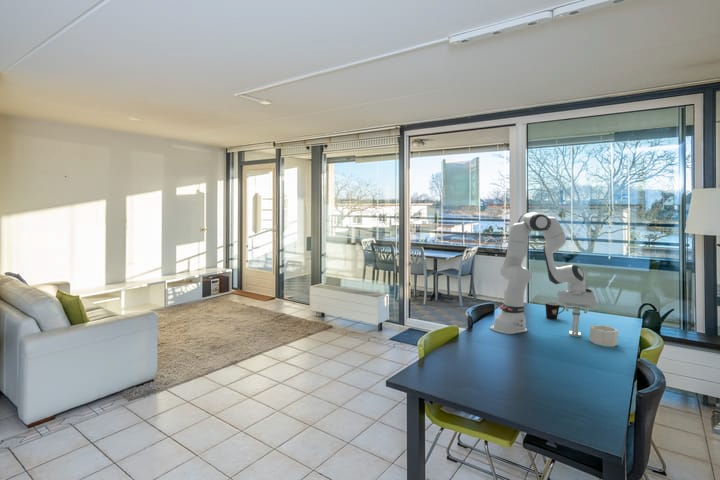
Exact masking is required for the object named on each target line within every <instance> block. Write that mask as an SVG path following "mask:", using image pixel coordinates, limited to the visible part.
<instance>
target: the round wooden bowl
mask: <svg viewBox="0 0 720 480" xmlns="http://www.w3.org/2000/svg"><path fill="white" fill-rule="evenodd" d="M618 337H619V330H618V329H617V328H616V327H612V326H608V325H605V324H604V325H602V324H593V325H591V326H590V329H589V342H591V343H592V344H595V345H598V346H601V347H616V346H617V345H618V339H619V338H618Z"/></svg>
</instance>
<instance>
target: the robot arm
mask: <svg viewBox="0 0 720 480" xmlns="http://www.w3.org/2000/svg"><path fill="white" fill-rule="evenodd" d="M531 232H541V233H542V235H543V237H544V241H545V244H544V245H543V250H542V251H543V256H544V260H545V265H546V269H547V276H548V279H549V282H551V283H552V284H553V285H560V284H563V283H567V282H569V286H568V290H559V291H557V303H558V304H560V306H561V305H562V306H564V308H565V309H564V310H565V312H569V310H570V309H569V307H568V306H571V307H577V308H584V309H583V314H588V311H589V309H596V307H597V297H596V295H595V291H594V290H593V289H590V288H587V287H586V282H587V281H586V274H585V273H586V272H585V271H584V269H582V268H581V267H580V266H579V265H577V264H569V265H564V266H559V267H557V266H556V264H555V259H554V253H555V252H557V251H558V250H560V249H561V248H562V247H564V245H565V243H566V241H567V236H566V233H565V231H564V229H563V228H562V226H561V223H560V222H559V220H558V219H557V218H556V217H554V216H547V215H546V214H544V213H541V212H534V211H531V212H525V213H523V214H521V216H519V219H518V221H517V222H516V223H513V224H511V226H510V229H509V234H508V237H507V238H508V239H507V247H506V248H507V249H506V250H507V251H506V254H505V259H504V261H503V264H502V265H501V267H500V269H499V273H500V275H501V276H502V277H503V279H505V280H507V281H508V284H507V287H506V288H505V290H504V293H503V295H504V297H503V304H502V305H499V308H498V309H500V310H501V311H500V312H499V313H498V315H497V316H496V317H495V318H494V321H493V322H494V323H493V325H491V326H489V330H492V331H494V332H498V333H501V334H506V335H513V334H519V333H520V334H521V333H525V332H528V329H527V328H526V325H527V324H526V316H525V314H524V312H525V305H524V301H525V300H524V299H525V292H526V288H527V285H528V284H529V283H530V281H531V279H532V273H531V271H530V269H528V268H527V267H525V266H523V265H522V264H523V261H524V259H525V258H526V257H527V255H528V245H529V236H530V233H531Z"/></svg>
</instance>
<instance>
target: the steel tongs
mask: <svg viewBox="0 0 720 480" xmlns="http://www.w3.org/2000/svg"><path fill="white" fill-rule="evenodd" d="M572 308H573V310H572V313H571V314H572V325H571V326H572V328H571V330H569V333H568V334H569V335H568V336H569V337H572V338H573V337H575V338H581V332H580V331H579V327H580V326H579V324H580V316H581V312H580V310H581V307H578V306H572Z"/></svg>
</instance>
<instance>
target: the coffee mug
mask: <svg viewBox="0 0 720 480" xmlns="http://www.w3.org/2000/svg"><path fill="white" fill-rule="evenodd" d="M544 304H545V305H544V306H545V317H546V319H547V320H553V321H555V320H557V319H558V316H559V314H561V313H562V312H564V311H565V310H566V309H565V307H564V305H560V304H558V302H553V301H545V303H544ZM561 307H562V308H563V309H562V310H561V311H560V312H559V310H560V308H561Z"/></svg>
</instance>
